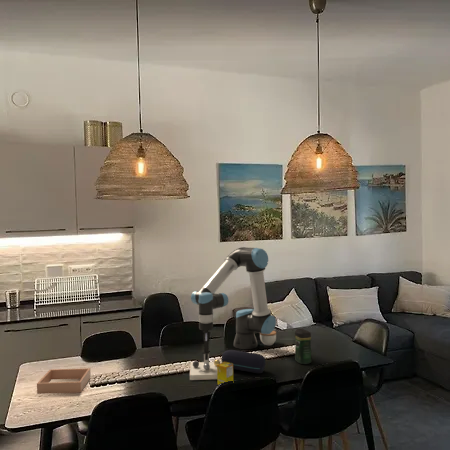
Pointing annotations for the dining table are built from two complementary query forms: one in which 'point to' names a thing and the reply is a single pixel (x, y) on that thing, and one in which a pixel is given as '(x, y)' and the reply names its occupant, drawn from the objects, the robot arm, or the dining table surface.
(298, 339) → the coffee jar
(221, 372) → the supplement box
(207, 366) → the ball
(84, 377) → the brown square tray
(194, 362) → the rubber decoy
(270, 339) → the lidded jar
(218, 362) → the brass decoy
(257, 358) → the portable speaker
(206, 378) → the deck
